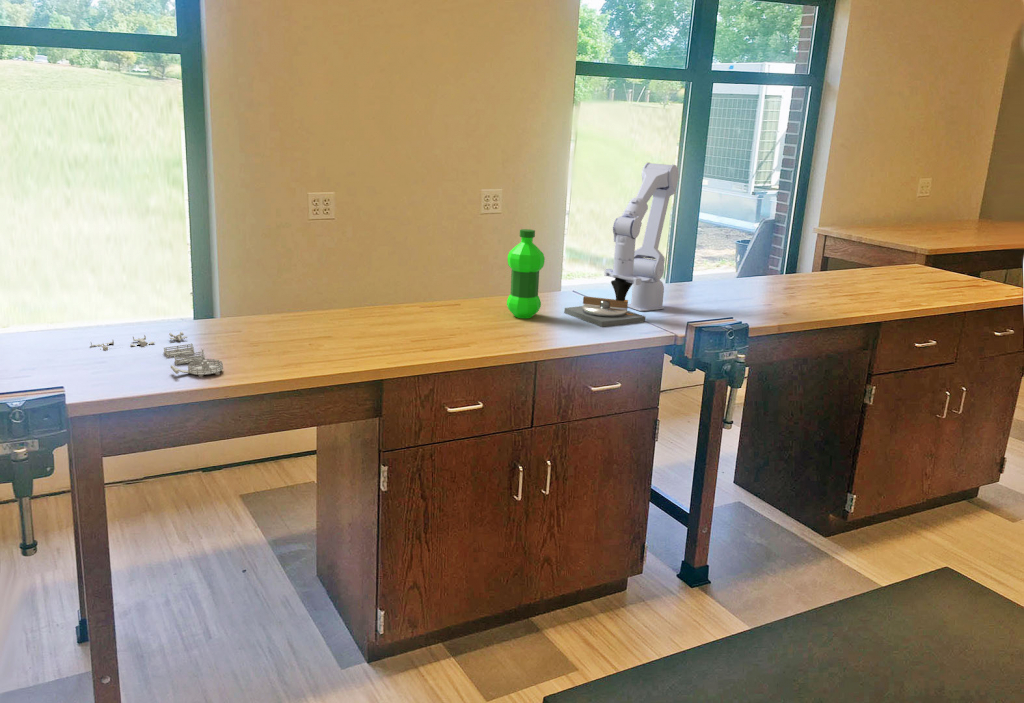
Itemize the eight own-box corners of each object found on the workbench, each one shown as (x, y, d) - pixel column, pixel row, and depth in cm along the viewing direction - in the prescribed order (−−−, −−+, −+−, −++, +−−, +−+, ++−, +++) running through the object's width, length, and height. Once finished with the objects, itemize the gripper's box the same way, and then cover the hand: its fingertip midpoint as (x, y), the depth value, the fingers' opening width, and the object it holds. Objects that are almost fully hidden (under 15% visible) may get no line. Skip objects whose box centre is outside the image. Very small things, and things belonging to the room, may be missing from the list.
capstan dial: (630, 309, 263) (631, 296, 261) (622, 318, 250) (624, 304, 249) (587, 304, 266) (588, 291, 265) (578, 313, 254) (579, 300, 253)
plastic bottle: (510, 321, 249) (514, 232, 242) (502, 312, 259) (506, 227, 252) (544, 320, 251) (549, 233, 245) (535, 311, 261) (539, 227, 254)
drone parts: (112, 394, 179) (110, 379, 178) (86, 352, 207) (84, 339, 206) (227, 375, 191) (226, 361, 190) (188, 338, 219) (186, 325, 218)
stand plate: (607, 308, 270) (607, 302, 270) (645, 321, 256) (646, 315, 255) (564, 312, 262) (564, 307, 261) (601, 326, 247) (602, 321, 247)
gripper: (597, 255, 258) (594, 300, 262) (629, 264, 247) (625, 311, 250) (616, 253, 262) (613, 298, 266) (648, 262, 250) (644, 309, 254)
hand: (620, 304), depth 258 cm, fingers closed, pressing on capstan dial
